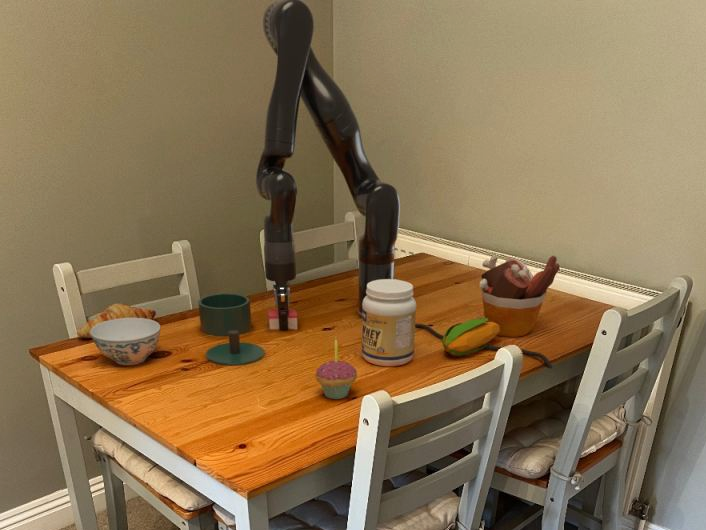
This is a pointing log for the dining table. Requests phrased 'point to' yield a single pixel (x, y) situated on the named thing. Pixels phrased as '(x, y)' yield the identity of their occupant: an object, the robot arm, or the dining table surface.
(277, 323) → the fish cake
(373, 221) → the robot arm
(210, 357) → the lid
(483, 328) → the corn
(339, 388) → the cupcake
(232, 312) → the pot
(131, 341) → the chinaware
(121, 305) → the croissant
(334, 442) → the dining table surface
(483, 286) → the bucket of meat
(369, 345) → the supplement tub
